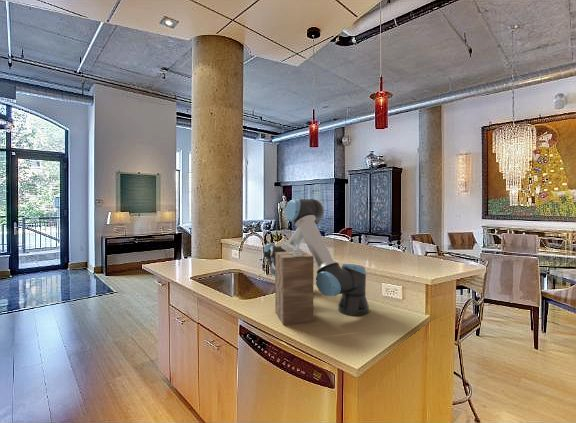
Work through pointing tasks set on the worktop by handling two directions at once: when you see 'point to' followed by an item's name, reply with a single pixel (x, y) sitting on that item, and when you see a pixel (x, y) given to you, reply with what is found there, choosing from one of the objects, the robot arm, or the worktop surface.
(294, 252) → the metal bar
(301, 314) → the walnut stand
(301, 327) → the worktop surface
